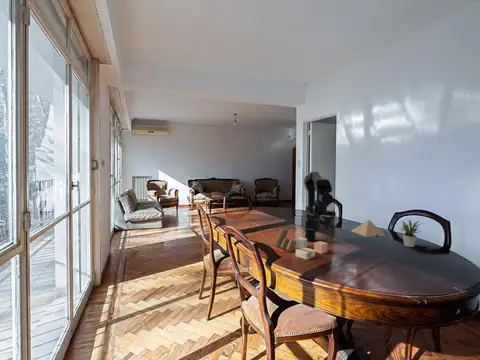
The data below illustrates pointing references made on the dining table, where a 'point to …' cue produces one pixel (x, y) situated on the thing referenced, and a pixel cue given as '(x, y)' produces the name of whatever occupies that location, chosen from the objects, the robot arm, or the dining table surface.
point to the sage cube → (301, 242)
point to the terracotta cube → (320, 247)
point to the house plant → (410, 233)
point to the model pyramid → (368, 229)
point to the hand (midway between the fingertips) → (320, 230)
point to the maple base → (305, 253)
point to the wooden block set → (285, 241)
